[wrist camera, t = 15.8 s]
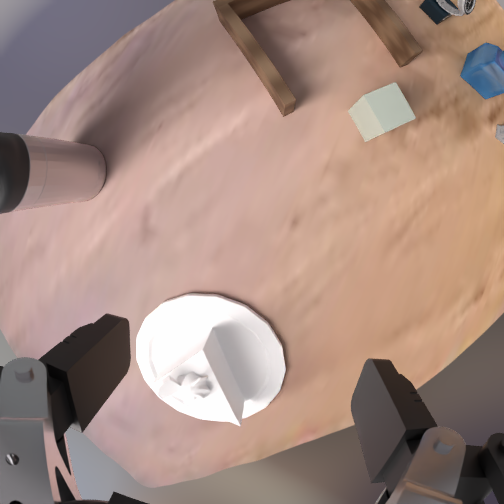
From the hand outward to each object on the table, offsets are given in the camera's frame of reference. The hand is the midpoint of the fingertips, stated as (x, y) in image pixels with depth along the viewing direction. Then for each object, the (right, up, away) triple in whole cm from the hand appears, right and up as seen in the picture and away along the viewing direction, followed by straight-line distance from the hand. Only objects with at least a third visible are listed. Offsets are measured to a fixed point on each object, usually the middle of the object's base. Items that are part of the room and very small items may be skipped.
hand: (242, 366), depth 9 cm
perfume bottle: (+39, +34, +24) cm, 57 cm away
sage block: (+17, +22, +28) cm, 40 cm away
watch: (+32, +46, +22) cm, 60 cm away
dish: (-7, -14, +38) cm, 41 cm away
